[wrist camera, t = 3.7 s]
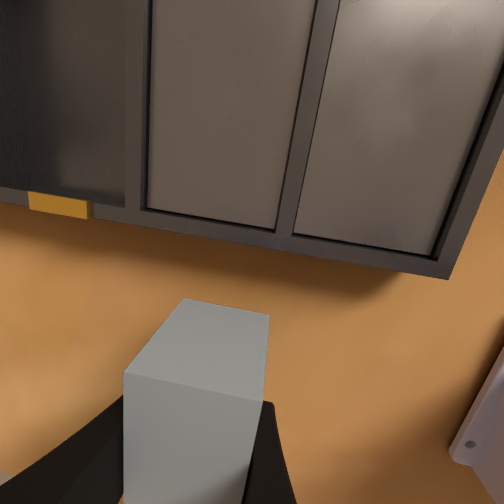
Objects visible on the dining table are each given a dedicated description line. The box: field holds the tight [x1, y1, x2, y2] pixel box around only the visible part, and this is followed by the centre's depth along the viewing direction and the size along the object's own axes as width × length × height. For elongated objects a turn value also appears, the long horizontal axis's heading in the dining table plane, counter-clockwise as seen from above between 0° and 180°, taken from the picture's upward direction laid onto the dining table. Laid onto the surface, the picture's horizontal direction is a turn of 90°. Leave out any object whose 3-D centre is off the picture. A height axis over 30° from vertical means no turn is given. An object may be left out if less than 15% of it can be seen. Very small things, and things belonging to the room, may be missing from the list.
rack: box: [0, 0, 504, 280], centre depth 9 cm, size 10×24×2 cm, turn 81°
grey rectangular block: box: [123, 298, 270, 504], centre depth 9 cm, size 7×4×4 cm, turn 171°
